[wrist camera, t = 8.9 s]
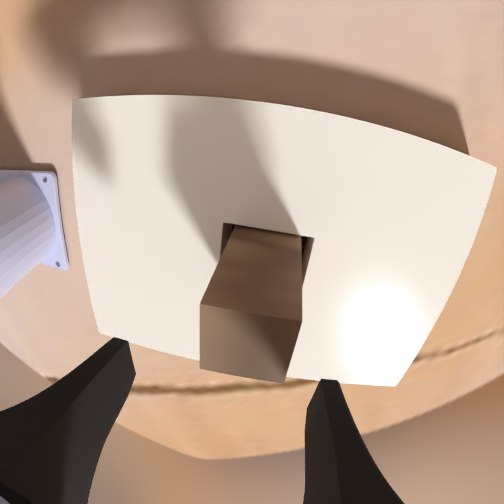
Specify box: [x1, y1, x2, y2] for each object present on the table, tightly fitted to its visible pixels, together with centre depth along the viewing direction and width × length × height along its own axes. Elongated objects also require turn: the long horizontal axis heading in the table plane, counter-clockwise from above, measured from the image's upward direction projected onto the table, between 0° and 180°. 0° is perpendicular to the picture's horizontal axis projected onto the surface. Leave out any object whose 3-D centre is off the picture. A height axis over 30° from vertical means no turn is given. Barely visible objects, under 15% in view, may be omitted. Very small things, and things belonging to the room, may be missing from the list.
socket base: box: [72, 95, 497, 386], centre depth 17 cm, size 22×16×3 cm
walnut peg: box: [200, 224, 302, 383], centre depth 14 cm, size 3×3×9 cm
